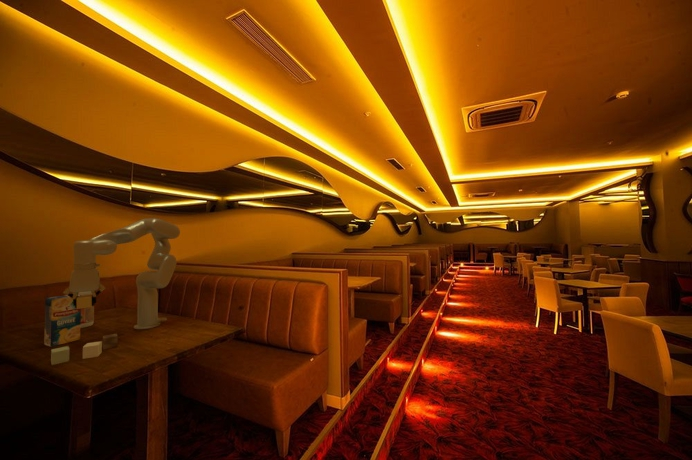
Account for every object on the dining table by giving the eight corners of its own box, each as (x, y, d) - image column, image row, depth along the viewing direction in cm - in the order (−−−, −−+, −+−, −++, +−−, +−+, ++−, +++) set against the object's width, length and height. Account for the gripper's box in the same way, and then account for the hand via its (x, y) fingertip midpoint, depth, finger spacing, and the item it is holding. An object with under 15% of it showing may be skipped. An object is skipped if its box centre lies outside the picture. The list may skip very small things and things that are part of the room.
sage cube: (67, 357, 120) (68, 345, 120) (69, 361, 117) (69, 349, 117) (50, 361, 116) (51, 349, 116) (51, 365, 113) (52, 352, 113)
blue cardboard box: (80, 339, 142) (81, 295, 143) (50, 346, 132) (51, 299, 133) (73, 337, 145) (74, 294, 146) (43, 344, 135) (45, 298, 136)
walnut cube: (116, 343, 136) (116, 333, 136) (117, 346, 132) (117, 335, 132) (102, 346, 132) (102, 335, 133) (103, 349, 129) (103, 338, 129)
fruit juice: (95, 325, 164) (96, 277, 165) (72, 329, 157) (74, 279, 157) (91, 322, 170) (92, 276, 171) (70, 326, 163) (71, 277, 163)
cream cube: (101, 352, 125) (101, 341, 126) (97, 356, 121) (98, 345, 121) (87, 354, 123) (87, 343, 123) (82, 359, 119) (82, 347, 119)
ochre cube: (93, 304, 135) (93, 294, 135) (91, 307, 131) (91, 296, 131) (79, 306, 132) (78, 295, 132) (76, 309, 128) (76, 298, 128)
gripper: (109, 265, 140) (109, 301, 139) (61, 267, 130) (61, 307, 130) (107, 266, 133) (107, 305, 133) (57, 269, 124) (57, 311, 124)
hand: (85, 305), depth 132 cm, fingers closed on ochre cube, 5 cm apart
